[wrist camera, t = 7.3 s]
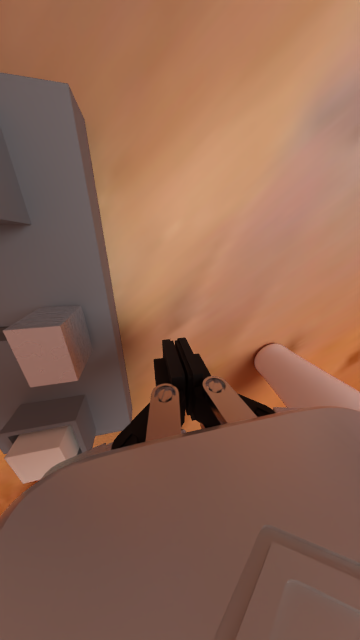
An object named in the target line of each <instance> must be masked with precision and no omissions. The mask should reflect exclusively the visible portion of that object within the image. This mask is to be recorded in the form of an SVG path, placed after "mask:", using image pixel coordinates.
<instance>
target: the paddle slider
mask: <svg viewBox="0 0 360 640" xmlns="http://www.w3.org/2000/svg"><path fill="white" fill-rule="evenodd" d="M3 333H4V335H5V337H6V339H7V341H8V343H9V345H10V347H11V349H12V351H13V353H14V355H15V357H16V359H17V361H18V363H19V365H20V367H21V369H22V372H23V374H24V376H25V378H26V380H27V382H28V384H29V386H30V387H37V386H44V385H51V384H58V383H66V382H73V381H78V380H79V378H80V375H81V373H82V371H83V369H84V367H85V365H86V363H87V360H88V358H89V356H90V354H91V352H92V346H91V342H90V338H89V334H88V330H87V326H86V322H85V318H84V314H83V310H82V306H81V305H73V306H56V307H40V308H38V309H37V310H35V311H33V312H32V313H30V314H29V315H27V316H25V317H24V318H22V319H20V320H19V321H17V322H16V323H14V324H12V325H11V326H9V327H8V328H6V329H4V330H3Z"/></svg>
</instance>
